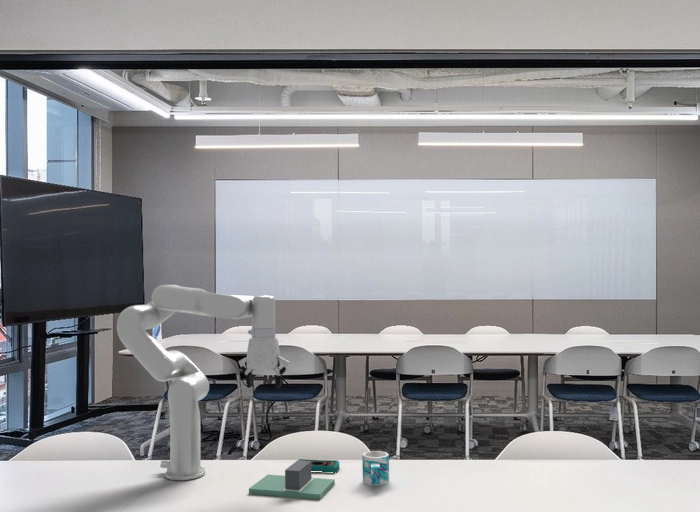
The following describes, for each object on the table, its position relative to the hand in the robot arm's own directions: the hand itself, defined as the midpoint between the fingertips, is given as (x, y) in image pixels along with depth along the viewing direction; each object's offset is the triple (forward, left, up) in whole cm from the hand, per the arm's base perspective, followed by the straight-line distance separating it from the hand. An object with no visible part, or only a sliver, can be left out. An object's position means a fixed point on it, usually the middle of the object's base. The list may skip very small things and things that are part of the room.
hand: (264, 387), depth 198 cm
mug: (+36, +2, -29) cm, 46 cm away
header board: (+13, -9, -28) cm, 32 cm away
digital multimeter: (+14, +12, -29) cm, 34 cm away
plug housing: (+15, -8, -27) cm, 31 cm away
